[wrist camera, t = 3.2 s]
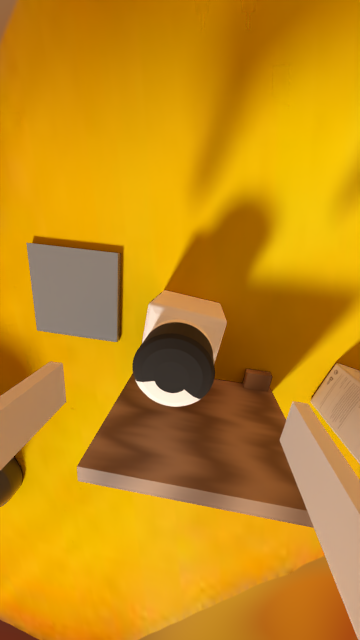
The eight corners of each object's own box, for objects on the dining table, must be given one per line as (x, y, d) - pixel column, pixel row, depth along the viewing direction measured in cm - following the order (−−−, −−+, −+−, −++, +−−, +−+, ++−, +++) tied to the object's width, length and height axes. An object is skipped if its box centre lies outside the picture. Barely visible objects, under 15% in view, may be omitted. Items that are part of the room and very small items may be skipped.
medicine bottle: (163, 289, 25) (128, 318, 13) (221, 302, 24) (237, 344, 13) (153, 341, 27) (116, 405, 15) (206, 355, 27) (208, 429, 15)
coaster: (41, 328, 28) (37, 330, 27) (32, 243, 25) (26, 242, 24) (119, 339, 27) (117, 342, 26) (120, 253, 24) (117, 253, 23)
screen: (135, 389, 29) (79, 500, 16) (137, 352, 27) (75, 443, 14) (263, 410, 28) (316, 549, 15) (273, 372, 26) (346, 493, 13)
